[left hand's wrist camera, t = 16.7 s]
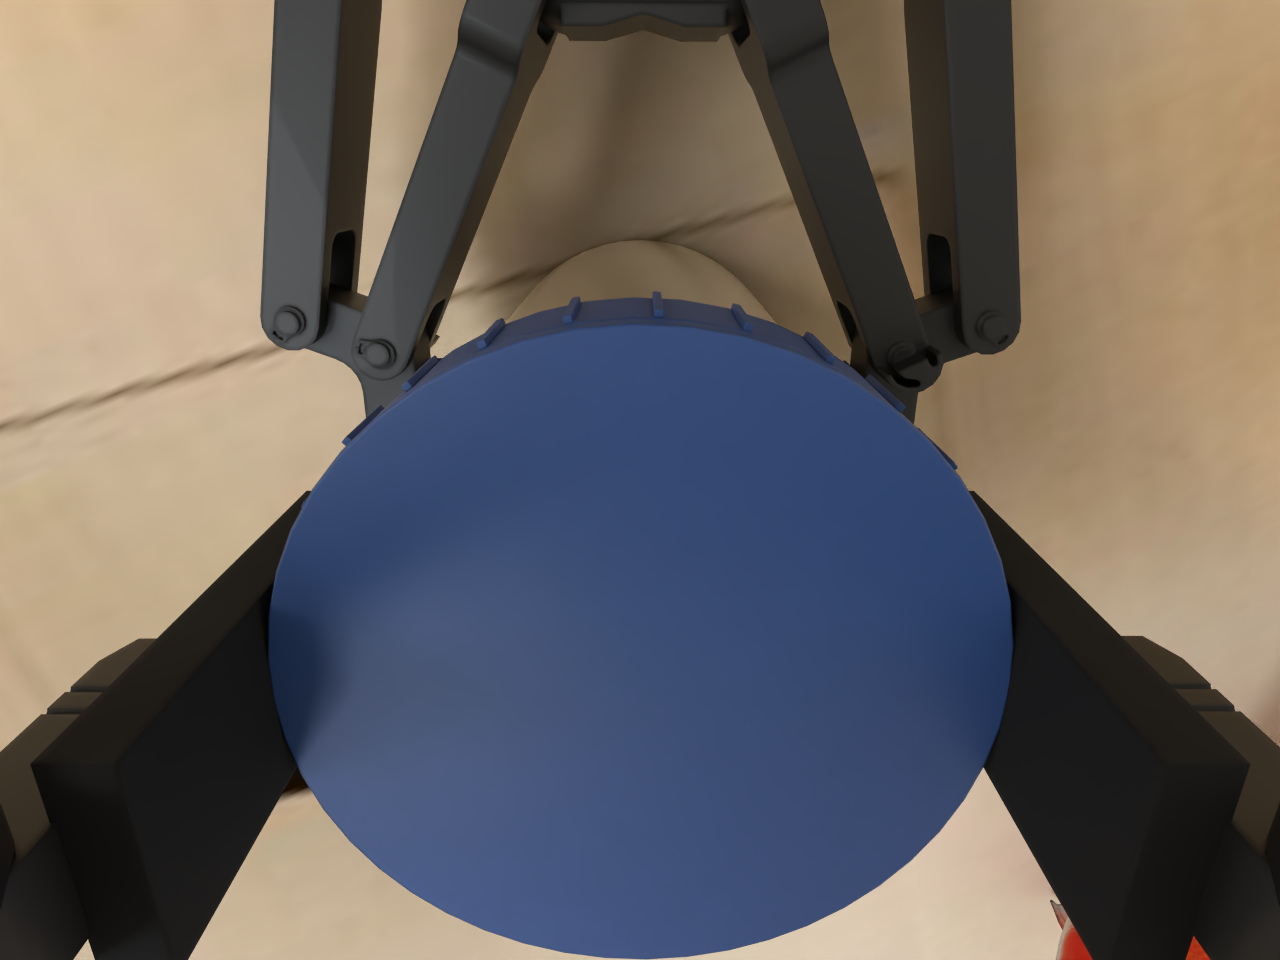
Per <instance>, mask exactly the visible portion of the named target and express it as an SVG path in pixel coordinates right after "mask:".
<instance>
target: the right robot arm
mask: <svg viewBox="0 0 1280 960" xmlns="http://www.w3.org/2000/svg"><path fill="white" fill-rule="evenodd" d="M381 10H382V0H275V3H274V25H273V48H272V70H271V92H270V115H269V137H268V159H267V182H266V204H265V226H264V249H263V271H262V293H261V323H262V328H263V330H264V332H265V333H266V335H267V337H268V338H269V339H270V340H271V341H272V342H273V343H275V344H276V345H277V346H279V347H282V348H284V349H287V350H301V349H303V348H306V349H309V350H312V351H315V352H317V353H320V354H323V355H326V356H329V357H332V358H335V359H337V360H339V361H341V362H343V363H345V364H346V365H347V366H348V367H350V368H351V369H352V370H353V372H354V373H355V374H356V375H357V377H358V379H359V381H360V383H361V385H362V389H363V395H364V403H365V412H366V418H367V417H368V416H369V415H370V414H371V413H372V412H373V411H374V410H375V409H376V408H378V407H379V406H380V405H382V406H383V407H384V408H386V407H387V406H388V405H389V404H390V403H391V402H392V401H393V400H394V399H395V398H396V397H397V396H398V395H399V394H400V393H401V392H402V391H403V390H404V389H403V388H402V387H401V385H402V384H403V383H404V382H406V381H407V380H408V379H409V378H410V377H411V376H412V375H413V374H414V373H415V372H416V371H417V370H418V369H419V368H421V367H422V366H423V365H424V364H425V363H426V362H427V361H428V360H429V359H430V358H431V356H430V348H431V347H432V346H433V345H434V344H435V343H436V341H437V340H438V338H439V337H440V336H438V335H436V333H437V330H438V328H439V325H440V323H441V320H442V318H443V315H444V312H445V310H446V307H447V305H448V302H449V300H450V297H451V295H452V292H453V290H454V287H455V284H456V282H457V279H458V277H459V274H460V272H461V269H462V267H463V264H464V262H465V259H466V256H467V254H468V251H469V249H470V246H471V244H472V241H473V239H474V236H475V233H476V231H477V228H478V226H479V223H480V221H481V218H482V216H483V213H484V211H485V208H486V205H487V203H488V200H489V198H490V195H491V193H492V190H493V188H494V185H495V183H496V180H497V177H498V175H499V172H500V170H501V167H502V165H503V162H504V160H505V157H506V155H507V152H508V149H509V147H510V144H511V142H512V139H513V137H514V134H515V132H516V129H517V126H518V124H519V121H520V119H521V116H522V114H523V111H524V109H525V106H526V104H527V101H528V98H529V96H530V94H531V91H532V89H533V87H534V85H535V84H536V82H537V80H538V79H539V77H540V75H541V73H542V71H543V69H544V66H545V64H546V62H547V59H548V57H549V54H550V51H551V49H552V46H553V44H554V41H555V39H556V36H557V34H558V33H562V34H565V35H567V37H568V39H569V41H607V40H610V39H614V38H617V37H620V36H624V35H627V34H631V33H634V32H637V31H641V30H645V31H649V32H652V33H655V34H659V35H662V36H665V37H668V38H671V39H675V40H678V41H692V42H717V41H718V39H719V38H720V36H722V35H726V34H729V37H730V40H731V42H732V45H733V47H734V50H735V53H736V55H737V58H738V61H739V63H740V66H741V68H742V71H743V73H744V75H745V77H746V79H747V81H748V83H749V84H750V86H751V87H752V89H753V91H754V94H755V96H756V99H757V102H758V104H759V107H760V110H761V112H762V115H763V117H764V120H765V123H766V125H767V128H768V131H769V133H770V136H771V139H772V141H773V144H774V147H775V149H776V152H777V155H778V157H779V160H780V163H781V165H782V168H783V171H784V173H785V176H786V179H787V181H788V184H789V187H790V189H791V192H792V195H793V197H794V200H795V202H796V205H797V208H798V210H799V213H800V216H801V218H802V221H803V224H804V226H805V229H806V232H807V234H808V237H809V240H810V242H811V245H812V248H813V250H814V253H815V256H816V258H817V261H818V264H819V266H820V269H821V272H822V274H823V277H824V280H825V282H826V285H827V288H828V290H829V293H830V295H831V298H832V301H833V303H834V306H835V309H836V311H837V314H838V317H839V319H840V322H841V325H842V327H843V330H844V333H845V335H846V338H847V341H848V343H849V346H850V347H851V349H852V351H851V361H850V365H849V364H848V363H847V362H846V361H843V362H844V363H846V364H847V365H849V366H850V367H852V368H853V369H854V370H855V371H856V372H858V373H859V374H860V375H861V376H862V377H863V378H864V379H865V378H866V377H867V376H868V375H869V374H870V375H871V376H873V377H874V378H875V379H876V380H877V381H878V382H879V383H880V384H881V385H882V386H883V387H885V388H886V389H887V390H888V391H889V392H890V393H891V394H892V395H893V396H894V397H895V398H896V399H898V400H899V401H900V402H901V403H902V404H903V405H904V406H905V407H906V408H905V409H904V410H903V411H902V412H901V413H902V414H903V415H904V416H905V417H906V418H907V419H908V420H909V421H910V422H911V423H912V424H913V425H914V418H915V411H916V403H917V395H918V392H921V391H924V390H925V389H927V388H928V387H930V386H931V385H933V384H934V382H935V381H936V380H937V378H938V377H939V376H940V374H941V370H942V367H943V363H945V362H948V361H951V360H954V359H957V358H960V357H963V356H966V355H969V354H972V353H975V352H978V353H980V354H995V353H998V352H1000V351H1003V350H1005V349H1006V348H1007V347H1008V346H1009V345H1010V344H1012V343H1013V342H1014V340H1015V338H1016V336H1017V335H1018V333H1019V329H1020V323H1021V310H1020V277H1019V244H1018V212H1017V179H1016V146H1015V114H1014V81H1013V48H1012V15H1011V0H904V16H905V30H906V44H907V58H908V72H909V86H910V100H911V113H912V127H913V141H914V155H915V169H916V183H917V197H918V211H919V225H920V238H921V252H922V266H923V280H924V294H925V296H924V297H921V298H918V299H915V300H914V297H913V294H912V291H911V288H910V285H909V282H908V279H907V276H906V273H905V270H904V267H903V264H902V261H901V258H900V256H899V253H898V250H897V247H896V244H895V241H894V238H893V235H892V232H891V229H890V226H889V223H888V220H887V217H886V214H885V212H884V209H883V206H882V203H881V200H880V197H879V194H878V191H877V188H876V185H875V182H874V179H873V176H872V173H871V170H870V167H869V165H868V162H867V159H866V156H865V153H864V150H863V147H862V144H861V141H860V138H859V135H858V132H857V129H856V126H855V123H854V120H853V118H852V115H851V112H850V109H849V106H848V103H847V100H846V97H845V94H844V91H843V88H842V85H841V82H840V79H839V76H838V74H837V71H836V68H835V65H834V62H833V59H832V56H831V52H830V48H829V32H828V26H827V22H826V18H825V15H824V11H823V8H822V5H821V2H820V0H467V1H466V4H465V6H464V9H463V13H462V16H461V19H460V24H459V29H458V43H457V48H456V51H455V54H454V57H453V60H452V63H451V66H450V69H449V71H448V74H447V77H446V80H445V83H444V85H443V88H442V91H441V94H440V97H439V99H438V102H437V105H436V108H435V111H434V113H433V116H432V119H431V122H430V125H429V127H428V130H427V133H426V136H425V139H424V141H423V144H422V147H421V150H420V153H419V155H418V158H417V161H416V164H415V167H414V169H413V172H412V175H411V178H410V181H409V183H408V186H407V189H406V192H405V195H404V198H403V200H402V203H401V206H400V209H399V212H398V214H397V217H396V220H395V223H394V226H393V228H392V231H391V234H390V237H389V240H388V242H387V245H386V248H385V251H384V254H383V256H382V259H381V262H380V265H379V268H378V270H377V273H376V276H375V279H374V282H373V284H372V287H371V290H370V293H369V296H365V295H362V294H359V293H357V288H358V276H359V265H360V253H361V242H362V230H363V218H364V207H365V195H366V184H367V172H368V160H369V149H370V137H371V126H372V114H373V102H374V91H375V79H376V68H377V56H378V44H379V33H380V21H381ZM441 359H442V358H438V360H439V361H440V360H441Z"/></svg>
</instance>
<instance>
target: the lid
mask: <svg viewBox="0 0 1280 960" xmlns="http://www.w3.org/2000/svg"><path fill="white" fill-rule="evenodd" d="M401 387H402V388H403V389H404V390H403V391H402V392H401V393H400V394H399V395H398V396H397V397H396V398H395V399H394V400H393V401H392V402H391V403H390V404H389V405H388V406H387V407H386V408H384V407H383V406H382V405H380V406H379V407H378V408H376V409H375V410H374V411H373V412H372V413H371V414H370V415H369V416H368V417H367V418H366V419H365V420H364V421H363V422H361V423H360V424H359V425H358V426H357V427H356V428H355V429H354V430H353V431H352V432H351V433H350V434H349V435H348V436H346V438H345V439H344V440H343V441H342V443H343V444H344V445H346V447H345V448H344V449H343V450H342V451H341V452H340V453H339V455H338V456H337V457H336V459H335V460H334V461H333V463H332V464H331V465H330V467H329V468H328V469H327V471H326V472H325V473H324V475H323V476H322V477H321V479H320V480H319V481H318V483H317V484H316V485H315V486H314V488H313V489H312V491H311V493H310V495H309V496H308V497H307V498H306V499H305V500H304V502H303V504H302V506H301V508H302V510H301V512H300V513H299V515H298V517H297V519H296V521H295V523H294V525H293V527H292V528H291V531H290V533H289V536H288V539H287V542H286V545H285V548H284V551H283V554H282V556H281V559H280V562H279V565H278V568H277V571H276V575H275V581H274V587H273V592H272V598H271V604H270V609H269V617H268V663H269V671H270V677H271V683H272V688H273V694H274V700H275V704H276V709H277V713H278V717H279V720H280V723H281V727H282V730H283V733H284V737H285V740H286V742H287V744H288V746H289V748H290V751H291V753H292V755H293V757H294V759H295V761H296V764H297V766H298V768H299V770H300V772H301V775H302V776H303V778H304V780H305V781H306V783H307V784H308V786H309V787H310V789H311V791H312V792H313V794H314V795H315V797H316V798H317V800H318V802H319V803H320V805H321V806H322V808H323V809H324V811H325V812H326V813H327V814H328V815H329V817H330V818H331V819H332V820H333V821H334V823H335V824H336V825H337V826H338V827H339V829H340V830H341V831H342V832H343V833H344V835H345V836H346V837H347V838H348V839H349V841H350V842H351V843H353V844H354V845H355V846H356V847H357V848H358V849H359V850H360V851H361V852H362V853H363V854H364V855H365V856H366V857H367V858H369V859H370V860H371V861H372V862H373V863H374V864H375V865H376V866H377V867H378V868H379V869H381V870H382V871H383V872H385V873H386V874H387V875H389V876H390V877H391V878H393V879H394V880H395V881H397V882H398V883H399V884H401V885H402V886H403V887H405V888H406V889H407V890H409V891H410V892H412V893H413V894H415V895H417V896H418V897H420V898H422V899H423V900H425V901H427V902H429V903H430V904H432V905H434V906H435V907H437V908H439V909H441V910H442V911H444V912H446V913H447V914H450V915H452V916H454V917H456V918H459V919H461V920H463V921H465V922H467V923H470V924H472V925H474V926H476V927H479V928H481V929H483V930H485V931H488V932H491V933H494V934H497V935H500V936H503V937H506V938H509V939H512V940H515V941H518V942H521V943H525V944H529V945H533V946H538V947H542V948H546V949H551V950H555V951H560V952H564V953H572V954H579V955H587V956H595V957H603V958H626V959H658V958H674V957H689V956H695V955H702V954H708V953H714V952H721V951H727V950H732V949H736V948H739V947H743V946H747V945H751V944H755V943H759V942H763V941H767V940H770V939H773V938H775V937H778V936H781V935H784V934H786V933H789V932H792V931H794V930H797V929H800V928H803V927H805V926H808V925H810V924H812V923H814V922H816V921H818V920H820V919H822V918H824V917H826V916H828V915H830V914H833V913H835V912H837V911H839V910H841V909H843V908H845V907H846V906H848V905H850V904H851V903H853V902H854V901H856V900H857V899H859V898H861V897H862V896H864V895H865V894H867V893H869V892H870V891H872V890H873V889H875V888H877V887H878V886H880V885H881V884H882V883H883V882H885V881H886V880H887V879H888V878H890V877H891V876H892V875H893V874H895V873H896V872H897V871H898V870H900V869H901V868H902V867H904V866H905V865H906V864H907V863H909V862H910V861H911V860H912V859H913V858H914V857H915V856H916V855H917V854H918V853H919V852H920V851H921V850H922V849H923V848H924V847H925V846H926V845H927V844H928V843H929V842H930V841H931V840H932V839H933V838H934V837H935V836H936V835H937V834H938V833H939V832H940V830H941V829H942V828H943V827H944V825H945V824H946V823H947V821H948V820H949V819H950V818H951V816H952V815H953V814H954V812H955V811H956V810H957V808H958V807H959V806H960V805H961V803H962V802H963V801H964V799H965V798H966V796H967V794H968V792H969V791H970V789H971V787H972V786H973V784H974V782H975V780H976V779H977V777H978V775H979V773H980V772H981V770H982V768H983V767H984V765H985V762H986V760H987V758H988V755H989V753H990V750H991V748H992V745H993V743H994V740H995V738H996V736H997V733H998V731H999V728H1000V725H1001V721H1002V717H1003V712H1004V708H1005V703H1006V698H1007V693H1008V688H1009V682H1010V676H1011V668H1012V657H1013V646H1014V644H1013V629H1012V613H1011V601H1010V596H1009V592H1008V588H1007V583H1006V579H1005V574H1004V570H1003V565H1002V561H1001V558H1000V555H999V553H998V550H997V548H996V545H995V543H994V540H993V538H992V535H991V533H990V530H989V528H988V525H987V523H986V520H985V518H984V516H983V515H982V513H981V511H980V509H979V508H978V506H977V504H976V503H975V501H974V499H973V498H972V496H971V494H970V493H969V491H968V489H967V488H966V486H965V484H964V483H963V481H962V479H961V478H960V476H959V475H958V474H957V473H956V471H955V470H956V469H957V468H958V467H957V466H956V464H955V463H954V461H953V460H951V459H950V458H949V457H948V456H947V455H946V454H945V453H944V452H943V451H942V450H941V449H940V448H939V447H938V446H937V445H936V444H935V443H934V442H933V441H932V440H931V439H929V438H928V437H927V436H926V435H925V434H924V433H923V432H922V431H921V430H920V429H919V428H917V427H915V426H914V425H913V424H912V423H911V422H910V421H909V420H908V419H907V418H906V417H905V416H904V415H903V414H902V413H901V412H902V411H903V410H904V409H905V408H906V407H905V406H904V405H903V404H902V403H901V402H900V401H899V400H898V399H896V398H895V397H894V396H893V395H892V394H891V393H890V392H889V391H888V390H887V389H886V388H885V387H883V386H882V385H881V384H880V383H879V382H878V381H877V380H876V379H875V378H874V377H873V376H871V375H870V374H869V375H868V376H867V377H866V378H865V379H864V378H863V377H862V376H861V375H860V374H859V373H858V372H856V371H855V370H854V369H853V368H852V367H850V366H849V365H847V364H846V363H844V362H843V361H841V360H840V359H838V358H837V357H835V356H834V355H833V354H832V353H831V352H830V351H829V350H828V349H827V348H826V347H825V346H824V345H823V344H822V343H821V342H820V341H819V340H818V339H817V338H816V337H815V336H814V335H813V334H811V333H809V332H806V333H805V335H804V337H802V336H800V335H798V334H796V333H794V332H792V331H790V330H788V329H785V328H783V327H781V326H779V325H777V324H775V323H773V322H770V321H767V320H764V319H761V318H758V317H755V316H751V315H748V314H746V312H745V311H744V310H743V308H742V307H741V305H738V304H735V303H733V304H732V307H731V309H730V308H726V307H720V306H715V305H709V304H704V303H698V302H692V301H687V300H681V299H662V296H661V292H654V291H653V293H652V298H639V297H630V298H618V299H607V300H595V301H585V302H581V300H580V297H579V296H578V297H573V298H572V299H571V301H570V303H569V305H567V306H562V307H558V308H553V309H549V310H544V311H540V312H537V313H534V314H531V315H529V316H526V317H523V318H520V319H518V320H515V321H512V322H510V323H507V324H505V322H504V320H503V318H502V319H499V320H497V321H495V323H494V324H493V325H492V326H491V327H490V328H489V329H488V330H487V331H486V332H485V334H483V335H481V336H479V337H477V338H475V339H473V340H471V341H470V342H468V343H466V344H464V345H462V346H460V347H458V348H457V349H455V350H453V351H452V352H450V353H449V354H448V355H446V356H445V357H444V358H442V359H441V360H440V361H439V360H438V358H437V357H436V356H433V357H432V358H430V359H429V360H428V361H427V362H426V363H425V364H424V365H423V366H422V367H421V368H419V369H418V370H417V371H416V372H415V373H414V374H413V375H412V376H411V377H410V378H409V379H408V380H407V381H406V382H404V383H403V384H402V385H401Z"/></svg>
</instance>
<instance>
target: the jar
mask: <svg viewBox="0 0 1280 960" xmlns="http://www.w3.org/2000/svg"><path fill="white" fill-rule="evenodd" d="M653 291H654V292H661V296H662V299H681V300H687V301H692V302H698V303H704V304H709V305H715V306H720V307H726V308H730V309H731V307H732V304H733V303H735V304H738V305H741V307H742V308H743V310H744V311H745V312H746V314H748V315H751V316H755V317H758V318H761V319H764V320H767V321H770V322H773V323H775V324H777V323H776V322H775V321H774V319H773V318H772V317H771V316H770V315H769V314H768V312H767V311H766V310H765V309H764V308H763V306H762V305H761V304H760V303H759V302H758V301H757V299H756V298H755V297H754V296H753V295H752V294H751V292H750V291H749V290H748V289H747V288H746V287H745V286H744V285H743V284H742V283H741V282H740V281H739V280H738V279H737V278H736V277H735V276H734V275H733V274H732V273H731V272H729V271H728V270H727V269H725V268H724V267H723V266H721V265H720V264H719V263H717V262H716V261H714V260H712V259H710V258H708V257H707V256H705V255H703V254H701V253H699V252H696V251H694V250H691V249H688V248H686V247H683V246H679V245H675V244H671V243H667V242H661V241H650V240H630V241H620V242H615V243H609V244H605V245H602V246H598V247H595V248H592V249H589V250H586V251H584V252H582V253H580V254H578V255H576V256H574V257H572V258H570V259H568V260H567V261H565V262H564V263H562V264H561V265H559V266H558V267H556V268H555V269H554V270H552V271H551V272H550V273H549V274H548V275H547V276H546V277H544V278H543V279H542V280H541V281H540V282H539V283H538V284H537V285H536V287H535V288H534V289H533V290H532V291H531V292H530V294H529V295H528V296H527V297H526V298H525V299H524V301H523V302H522V303H521V304H520V305H519V306H518V308H517V309H516V310H515V311H514V312H513V314H512V315H511V316H510V317H509V318H508V319H507V321H506V322H505V324H507V323H510V322H512V321H515V320H518V319H520V318H523V317H526V316H529V315H531V314H534V313H537V312H540V311H544V310H549V309H553V308H558V307H562V306H567V305H569V303H570V301H571V299H572V298H573V297H578V296H579V297H580V300H581V302H585V301H595V300H607V299H618V298H630V297H639V298H652V293H653ZM777 325H778V324H777Z"/></svg>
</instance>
